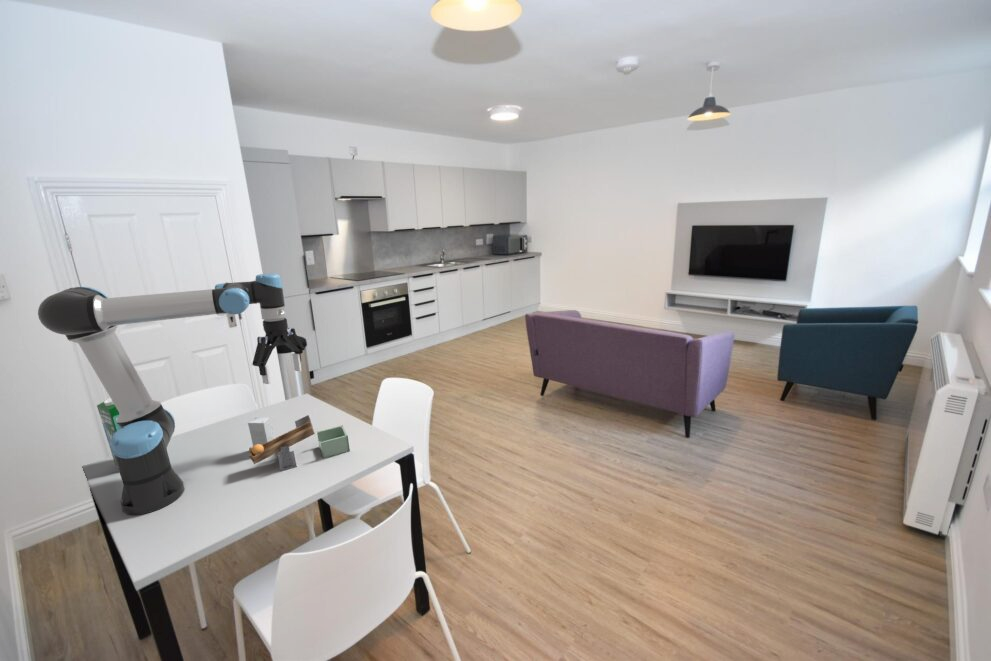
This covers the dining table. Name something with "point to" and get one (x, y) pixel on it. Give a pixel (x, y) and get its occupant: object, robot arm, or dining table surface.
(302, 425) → the lever
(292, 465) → the fulcrum
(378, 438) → the dining table surface
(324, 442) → the bin
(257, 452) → the ball
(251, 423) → the skincare box
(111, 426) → the milk carton
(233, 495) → the dining table surface
